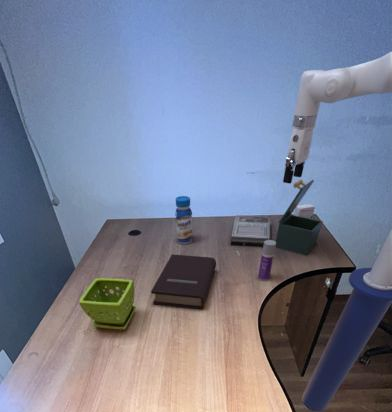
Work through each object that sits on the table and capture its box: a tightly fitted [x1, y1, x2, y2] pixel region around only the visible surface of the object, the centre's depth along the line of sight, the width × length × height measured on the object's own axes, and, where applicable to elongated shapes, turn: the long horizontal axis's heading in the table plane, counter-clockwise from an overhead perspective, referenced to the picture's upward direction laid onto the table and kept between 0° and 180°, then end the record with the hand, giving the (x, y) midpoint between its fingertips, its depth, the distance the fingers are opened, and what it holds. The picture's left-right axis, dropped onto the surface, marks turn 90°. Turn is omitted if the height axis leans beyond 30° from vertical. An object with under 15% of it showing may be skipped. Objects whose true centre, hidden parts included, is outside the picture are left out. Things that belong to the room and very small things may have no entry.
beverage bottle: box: [174, 195, 194, 245], centre depth 129 cm, size 8×8×20 cm
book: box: [150, 254, 217, 310], centre depth 105 cm, size 28×20×6 cm
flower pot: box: [78, 277, 137, 331], centre depth 89 cm, size 14×14×13 cm
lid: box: [278, 179, 315, 224], centre depth 118 cm, size 16×14×5 cm
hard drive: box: [230, 214, 271, 248], centre depth 138 cm, size 18×27×4 cm
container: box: [257, 239, 277, 281], centre depth 105 cm, size 5×5×15 cm
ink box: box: [293, 203, 316, 219], centre depth 138 cm, size 8×5×12 cm, turn 105°
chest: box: [275, 214, 323, 256], centre depth 126 cm, size 16×14×11 cm
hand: (292, 179), depth 103 cm, fingers open, 9 cm apart
